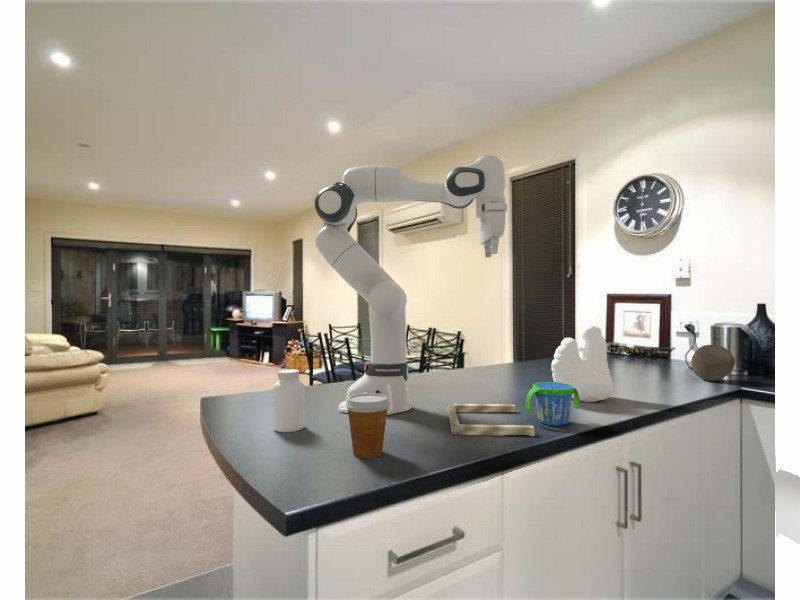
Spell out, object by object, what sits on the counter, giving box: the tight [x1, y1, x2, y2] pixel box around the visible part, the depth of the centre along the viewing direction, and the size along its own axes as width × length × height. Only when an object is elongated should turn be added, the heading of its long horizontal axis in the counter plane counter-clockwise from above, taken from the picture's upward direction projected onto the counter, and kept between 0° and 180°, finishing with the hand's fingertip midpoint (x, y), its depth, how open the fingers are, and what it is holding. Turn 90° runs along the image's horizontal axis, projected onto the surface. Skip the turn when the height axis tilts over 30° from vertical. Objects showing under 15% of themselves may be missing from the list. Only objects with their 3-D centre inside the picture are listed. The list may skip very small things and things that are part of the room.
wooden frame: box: [446, 403, 535, 437], centre depth 116 cm, size 20×24×2 cm
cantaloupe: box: [690, 344, 736, 382], centre depth 176 cm, size 14×14×15 cm
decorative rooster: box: [550, 325, 614, 403], centre depth 142 cm, size 25×16×25 cm, turn 109°
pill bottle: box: [272, 368, 306, 433], centre depth 110 cm, size 8×8×15 cm
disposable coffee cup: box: [346, 394, 390, 459], centre depth 92 cm, size 10×10×12 cm
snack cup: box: [525, 381, 581, 427], centre depth 115 cm, size 16×10×10 cm
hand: (491, 255), depth 130 cm, fingers open, 8 cm apart
